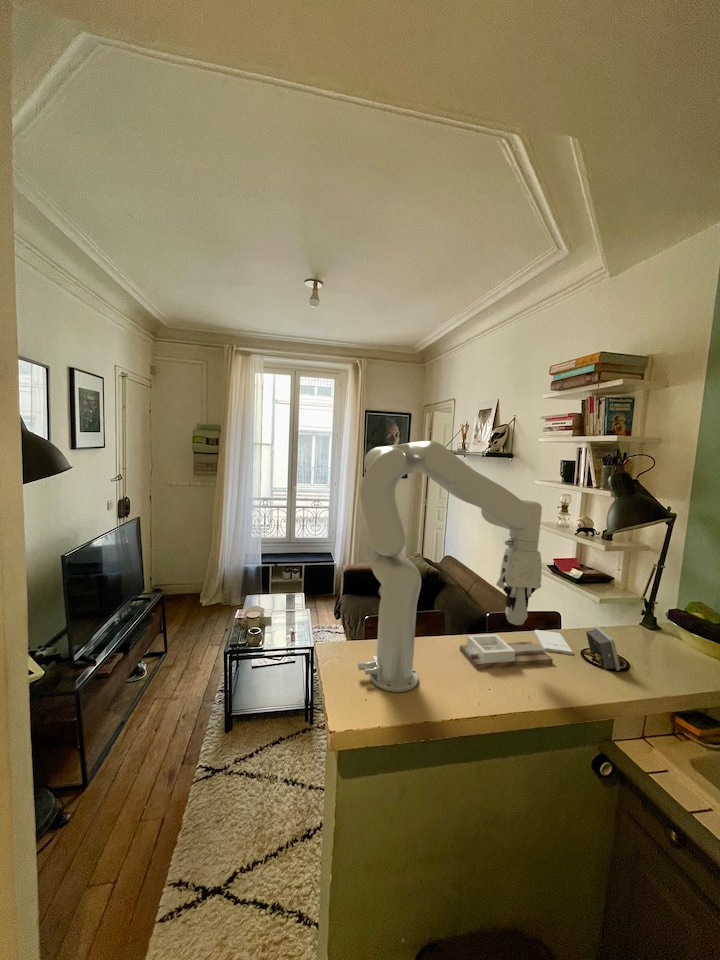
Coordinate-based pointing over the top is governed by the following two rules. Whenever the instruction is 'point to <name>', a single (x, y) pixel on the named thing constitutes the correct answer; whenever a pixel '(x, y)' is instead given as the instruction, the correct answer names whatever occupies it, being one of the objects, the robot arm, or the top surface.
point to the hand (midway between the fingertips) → (516, 609)
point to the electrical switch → (603, 647)
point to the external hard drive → (553, 642)
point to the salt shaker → (518, 608)
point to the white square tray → (491, 655)
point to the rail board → (519, 661)
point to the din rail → (518, 648)
